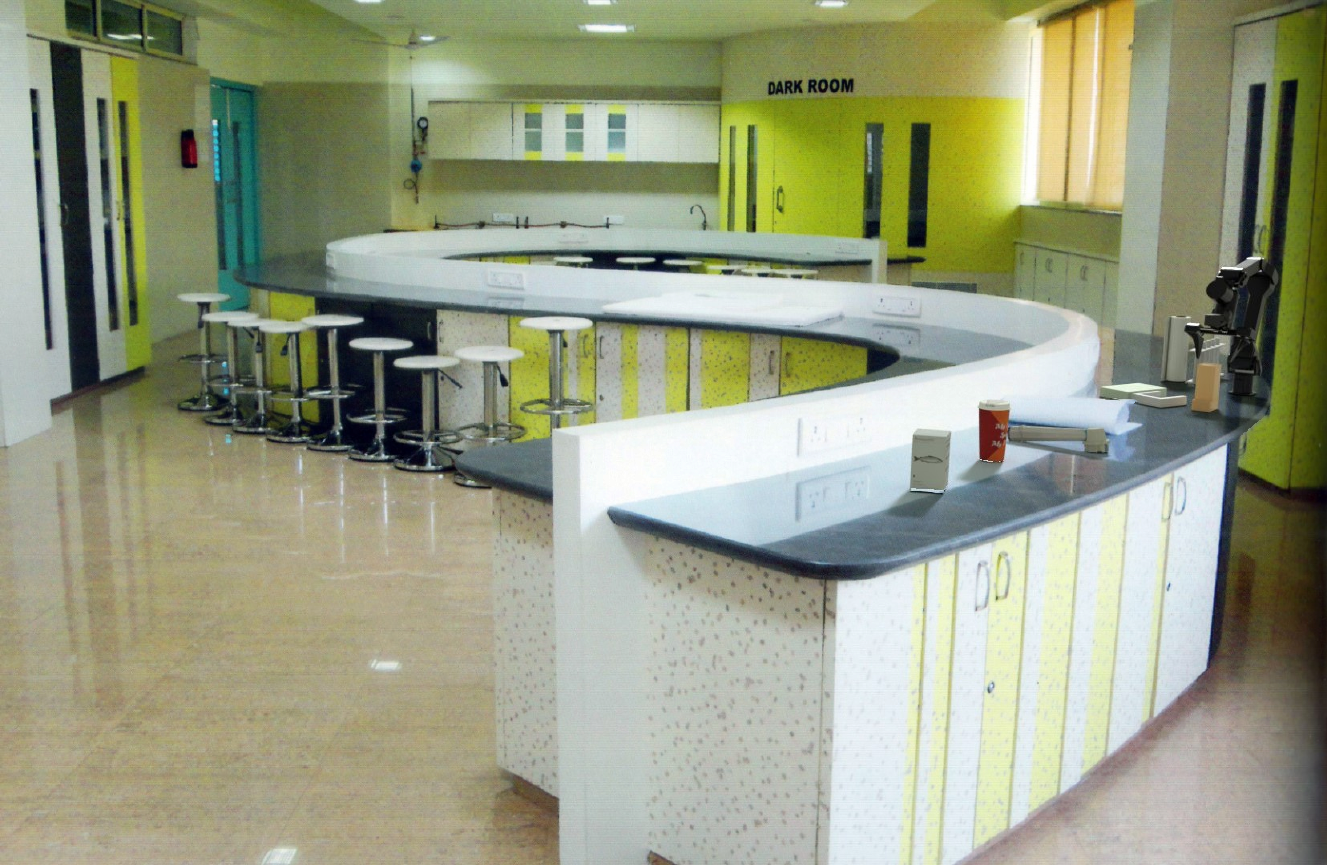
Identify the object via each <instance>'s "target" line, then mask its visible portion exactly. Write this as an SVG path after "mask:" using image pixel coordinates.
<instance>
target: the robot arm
mask: <svg viewBox="0 0 1327 865" xmlns="http://www.w3.org/2000/svg"><path fill="white" fill-rule="evenodd" d="M1278 283H1279V274H1278V271H1277V269H1276V267H1275V266H1273V265H1272V264H1270V263H1269V262H1267V258H1266V257H1263V256H1262V257H1261V256H1259V257H1258V256H1249V257H1246V259H1245V260H1244V261H1242V262H1240V263H1238V264H1237V265H1235V266H1223V267H1222V268H1220V269H1219V271H1218V272H1217V273H1216V274H1215V277H1214V278H1213V280H1212V281H1211V282H1210V283H1208V284H1207V286H1206V288H1205V293H1206V295H1207V297H1208V298H1209V299H1211V300H1212V301H1213V302H1214V303H1215V304H1214V308H1213V309H1212V311H1211V313H1205V314H1204V321H1203V322H1204V324H1203V325H1202V324H1201V323H1197V322H1196V323H1195V322H1191V323H1187V324H1186V326H1185V329H1184V332H1186V333H1187V334H1188V335H1189V338H1192V341H1193V344H1194V348H1195V352H1196V358H1197V359H1199V357H1200V355H1201V350H1202V346H1203V342H1204V341H1205V338H1204V337H1203V336H1204V335H1214V336H1225V337H1229V336H1230V337H1233V343H1232V345H1230V346H1231V347H1230V352H1229V354H1228V355H1227V357H1226V358H1227V359H1226V365H1227V366H1226V368H1227V370H1226V371H1227V374H1233V378H1232V379H1233V381H1232V389H1231V390H1229V391H1227V394H1233V395H1242V396H1247V397H1248V396H1253V395H1256V394H1258V392H1257V391H1254V386H1255V385H1254V384H1255V383H1254V382H1255V377H1258V376H1260V377H1261V376H1262V373H1263V365H1262V363H1261V359H1260V351H1259V349H1258V346H1257V339H1258V335H1259V331H1260V327H1261V322H1262V318H1263V313H1264V310H1265V309H1264V308H1265V304H1266V300H1267V299H1268V298H1269V297H1270V296H1271V295H1272V294H1273V293H1274V291H1275V288H1276V285H1277V284H1278ZM1244 287H1246V289H1247V292H1248V294H1249V297H1248V302H1247V306H1246V310H1245V315H1244V318H1243V319H1244V320H1243V323H1242V326H1237V327H1236V329H1233V325H1234V324H1233V323H1234V320H1236V317H1237V315H1236V311H1237V307H1238V302H1239V299H1241V295H1240V293H1239V291H1238V289H1242V288H1244ZM1235 288H1236V289H1235ZM1205 326H1207V327H1205Z"/></svg>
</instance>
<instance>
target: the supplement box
mask: <svg viewBox="0 0 1327 865" xmlns="http://www.w3.org/2000/svg"><path fill="white" fill-rule="evenodd" d="M951 438H952V431H951V430H943V429H930V428H929V429H928V428H916V429H915V431H914V432H913V433H912V442H911V460H910V463H911V464H910V478H909V479H910V480H909V481H910V482H909V489H910V488H916V489H934V490H944V489H945V488H946V486H947V485H948V486H949V474H950V473H949V472H950V456H951V455H950V454H951V452H950V451H951ZM948 486H947V487H948Z"/></svg>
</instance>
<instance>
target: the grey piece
mask: <svg viewBox="0 0 1327 865" xmlns="http://www.w3.org/2000/svg"><path fill="white" fill-rule="evenodd" d="M1007 440H1008V441H1009V442H1010V441H1011V442H1021V443H1025V442H1082V444H1083V445H1084V451H1085V452H1086V453H1087V451H1088V452H1096V454H1097V453H1098V452H1101V453H1107V452H1109V451H1110V446H1109V445H1110V444H1111V439H1109V438H1107V436H1106V431H1105V428H1104V427H1101V426H1100V427H1097V426H1096V427H1088V428H1076V427H1074V428H1073V427H1072V428H1071V427H1053V426H1052V427H1050V426H1034V425H1033V426H1031V425H1029V426H1028V425H1026V424H1022V425H1020V426H1019V425H1015V426H1014V425H1011V426H1010V425H1009V426H1008V430H1007Z"/></svg>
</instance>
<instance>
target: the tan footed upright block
mask: <svg viewBox="0 0 1327 865" xmlns="http://www.w3.org/2000/svg"><path fill="white" fill-rule="evenodd" d="M1222 365H1223V364H1222V363H1219V364H1212V363H1201V364H1198V365H1197V377H1196V384H1195V388H1194V389H1195V390H1194V398H1193V399H1191V411H1197V412H1206V413H1211V412H1213V411H1216V410H1218V408H1219V394H1220V387H1221V386H1220V384H1221V377H1220V376H1221V373H1222Z"/></svg>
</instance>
